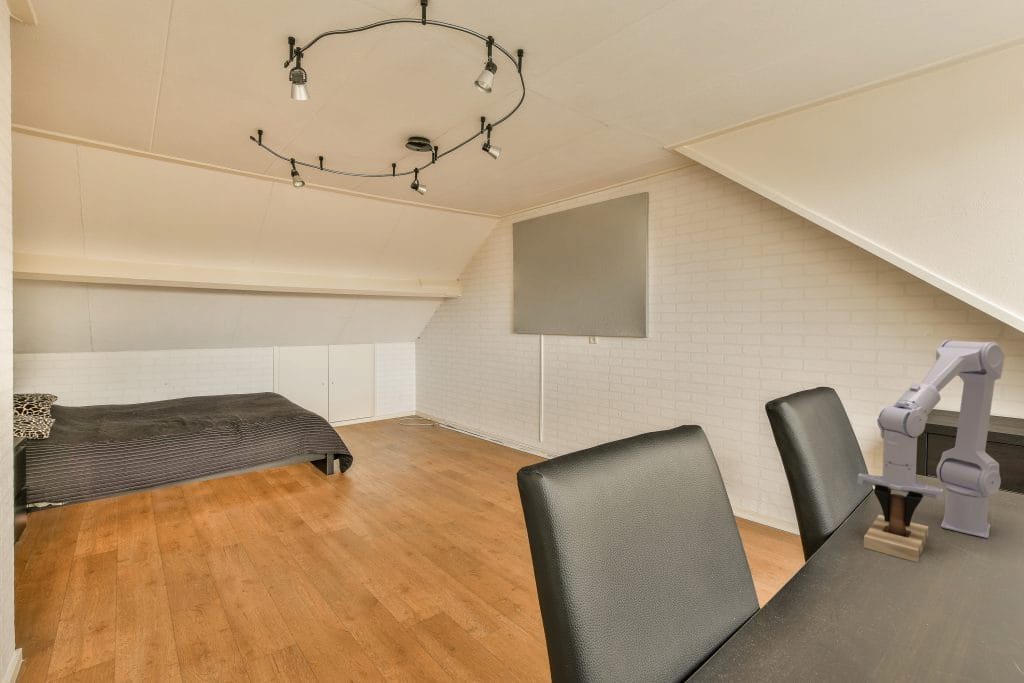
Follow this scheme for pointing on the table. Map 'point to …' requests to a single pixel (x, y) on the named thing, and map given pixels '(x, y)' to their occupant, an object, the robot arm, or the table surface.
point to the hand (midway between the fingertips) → (897, 522)
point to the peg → (897, 515)
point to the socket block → (896, 540)
